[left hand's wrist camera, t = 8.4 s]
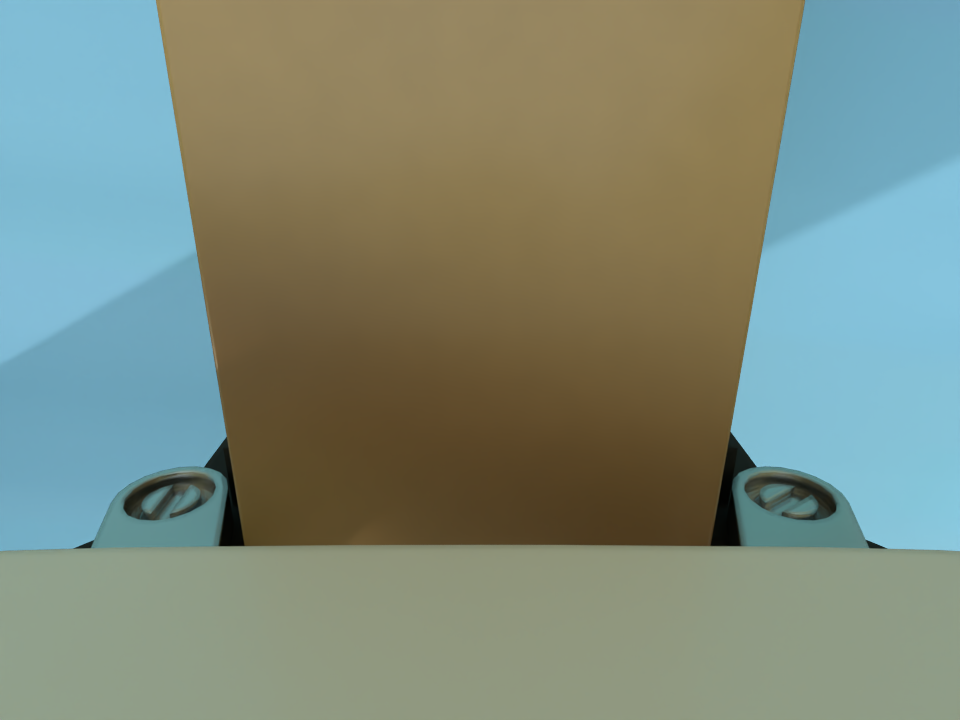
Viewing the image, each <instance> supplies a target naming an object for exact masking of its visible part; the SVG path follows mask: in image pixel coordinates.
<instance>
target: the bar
mask: <svg viewBox="0 0 960 720" xmlns="http://www.w3.org/2000/svg"><path fill="white" fill-rule="evenodd" d="M156 4H157V10H158V16H159V22H160V28H161V34H162V41H163V47H164V53H165V59H166V65H167V71H168V78H169V84H170V90H171V96H172V102H173V108H174V114H175V121H176V127H177V133H178V139H179V145H180V151H181V157H182V164H183V170H184V176H185V182H186V188H187V194H188V201H189V207H190V213H191V219H192V225H193V231H194V237H195V244H196V250H197V256H198V262H199V268H200V274H201V281H202V287H203V293H204V299H205V305H206V311H207V317H208V324H209V330H210V336H211V342H212V348H213V354H214V360H215V367H216V373H217V379H218V385H219V391H220V397H221V404H222V410H223V416H224V422H225V428H226V434H227V440H228V447H229V453H230V459H231V465H232V471H233V477H234V483H235V490H236V496H237V502H238V508H239V514H240V520H241V527H242V533H243V539H244V545H245V546H310V545H629V546H710V545H711V540H712V534H713V528H714V522H715V517H716V511H717V505H718V499H719V494H720V488H721V482H722V476H723V471H724V465H725V459H726V453H727V448H728V442H729V436H730V430H731V425H732V419H733V413H734V407H735V401H736V396H737V390H738V384H739V378H740V373H741V367H742V361H743V355H744V350H745V344H746V338H747V332H748V327H749V321H750V315H751V309H752V304H753V298H754V292H755V286H756V280H757V275H758V269H759V263H760V257H761V252H762V246H763V240H764V234H765V229H766V223H767V217H768V211H769V206H770V200H771V194H772V188H773V183H774V177H775V171H776V165H777V160H778V154H779V148H780V142H781V136H782V131H783V125H784V119H785V113H786V108H787V102H788V96H789V90H790V85H791V79H792V73H793V67H794V62H795V56H796V50H797V44H798V39H799V33H800V27H801V21H802V15H803V10H804V4H805V0H156Z"/></svg>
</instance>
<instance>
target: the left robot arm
mask: <svg viewBox="0 0 960 720" xmlns="http://www.w3.org/2000/svg"><path fill="white" fill-rule="evenodd" d="M0 720H960V551H945V550H911V549H887V548H885V547H882V546H880V545H877V544H875V543H872V542H870V541H868V540H865V538H864V535H863V533H862V531H861V529H860V526H859V524H858V522H857V520H856V517H855V515H854V513H853V511H852V508H851V506H850V504H849V502H848V501H847V499H846V498H845V497H844V495H843V494H842V493H841V492H840V491H838V490H837V489H836V488H835V487H833V486H832V485H831V484H829V483H827V482H825V481H823V480H821V479H819V478H817V477H815V476H812V475H809V474H806V473H803V472H801V471H797V470H792V469H787V468H782V467H756V465H755V464H754V463H753V461H752V460H751V459H750V457H749V456H748V455H747V453H746V452H745V451H744V449H743V448H742V447H741V445H740V444H739V443H738V441H737V440H736V439H735V437H734V436H733V434H732V433H731V432H730V436H729V442H728V448H727V453H726V459H725V465H724V471H723V476H722V482H721V488H720V494H719V499H718V505H717V511H716V517H715V522H714V528H713V534H712V540H711V545H710V546H629V545H310V546H245V545H244V539H243V533H242V527H241V520H240V514H239V508H238V502H237V496H236V490H235V483H234V477H233V471H232V465H231V459H230V453H229V447H228V440H227V437H226V439H225V440H224V441H223V443H222V444H221V445H220V447H219V448H218V449H217V451H216V452H215V453H214V455H213V456H212V457H211V459H210V460H209V461H208V463H207V464H206V465H205V467H178V468H173V469H168V470H163V471H159V472H157V473H154V474H151V475H148V476H145V477H143V478H141V479H139V480H137V481H135V482H133V483H131V484H129V485H128V486H127V487H125V488H124V489H123V490H122V491H120V492H119V493H118V494H117V495H116V497H115V498H114V499H113V501H112V502H111V504H110V506H109V508H108V511H107V513H106V515H105V517H104V520H103V522H102V524H101V526H100V529H99V531H98V533H97V535H96V538H95V540H93V541H91V542H88V543H86V544H83V545H81V546H79V547H76V548H74V549H51V550H17V551H0Z"/></svg>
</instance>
